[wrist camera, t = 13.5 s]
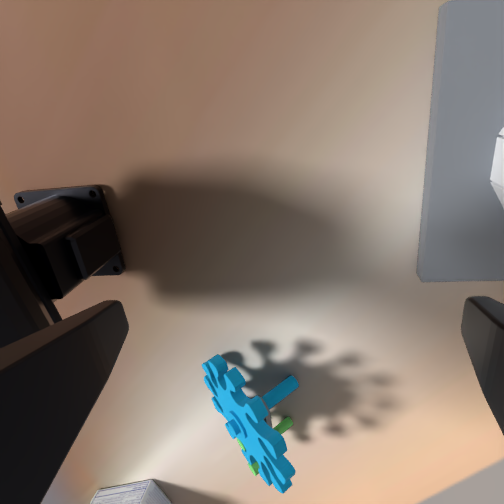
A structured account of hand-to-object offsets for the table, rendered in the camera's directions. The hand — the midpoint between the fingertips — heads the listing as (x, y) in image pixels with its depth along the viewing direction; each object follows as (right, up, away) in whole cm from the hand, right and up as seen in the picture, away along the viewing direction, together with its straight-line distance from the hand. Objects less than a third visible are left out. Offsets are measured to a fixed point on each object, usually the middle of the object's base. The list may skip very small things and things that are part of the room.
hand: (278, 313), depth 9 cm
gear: (-1, -9, +19) cm, 21 cm away
